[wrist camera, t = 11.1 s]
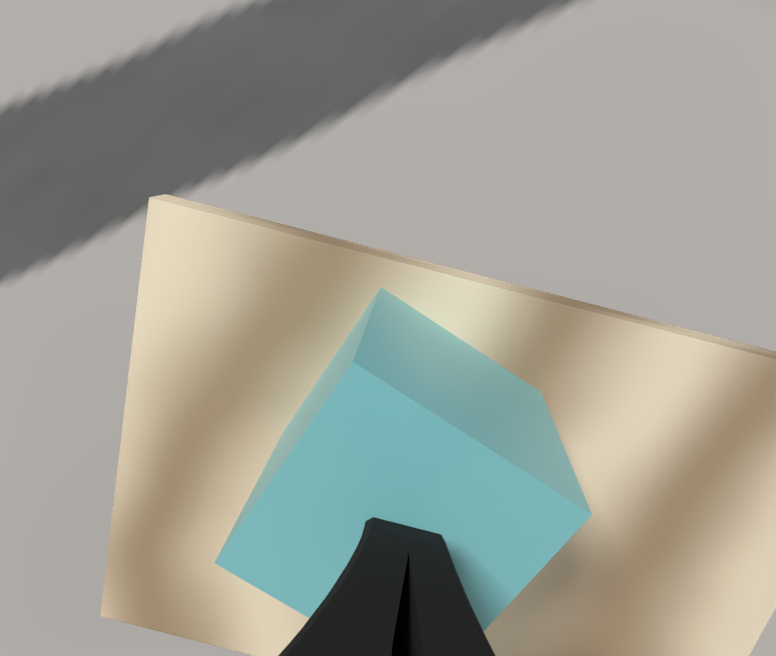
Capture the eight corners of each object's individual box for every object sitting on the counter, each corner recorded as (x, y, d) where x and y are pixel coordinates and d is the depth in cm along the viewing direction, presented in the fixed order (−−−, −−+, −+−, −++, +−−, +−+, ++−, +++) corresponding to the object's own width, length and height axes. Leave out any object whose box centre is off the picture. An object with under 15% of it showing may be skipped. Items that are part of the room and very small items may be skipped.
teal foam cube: (540, 392, 16) (591, 514, 11) (432, 524, 18) (430, 688, 12) (381, 286, 16) (352, 361, 10) (283, 432, 17) (214, 563, 12)
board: (871, 376, 16) (1048, 472, 12) (674, 738, 21) (745, 916, 16) (165, 194, 16) (55, 215, 12) (115, 594, 21) (20, 729, 16)
